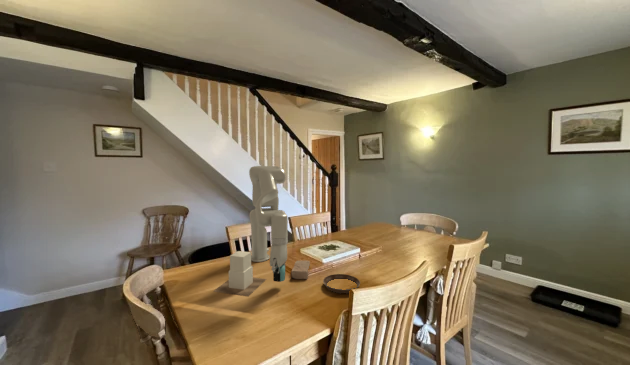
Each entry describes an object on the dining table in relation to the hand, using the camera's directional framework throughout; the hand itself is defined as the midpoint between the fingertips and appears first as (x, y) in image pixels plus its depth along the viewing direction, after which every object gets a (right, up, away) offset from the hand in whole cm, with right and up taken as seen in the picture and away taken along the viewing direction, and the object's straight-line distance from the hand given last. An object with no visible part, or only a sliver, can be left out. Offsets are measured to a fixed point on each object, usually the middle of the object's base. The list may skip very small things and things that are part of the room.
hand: (279, 278), depth 120 cm
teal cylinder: (0, -1, 0) cm, 1 cm away
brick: (+9, -5, +20) cm, 23 cm away
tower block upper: (-19, +4, +2) cm, 19 cm away
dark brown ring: (+29, -6, +4) cm, 30 cm away
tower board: (-19, -6, +3) cm, 20 cm away
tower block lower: (-19, -4, +3) cm, 19 cm away
